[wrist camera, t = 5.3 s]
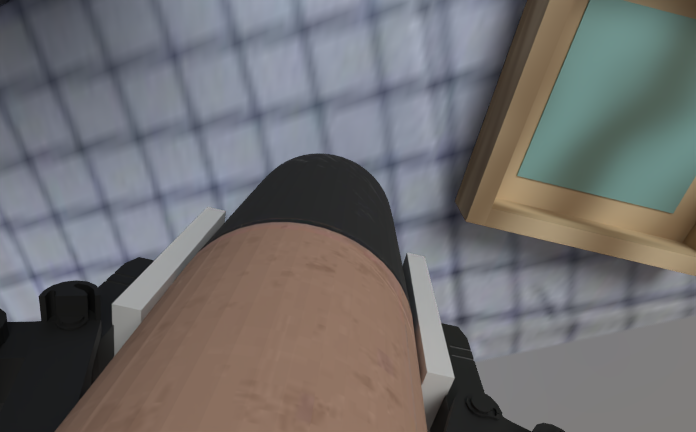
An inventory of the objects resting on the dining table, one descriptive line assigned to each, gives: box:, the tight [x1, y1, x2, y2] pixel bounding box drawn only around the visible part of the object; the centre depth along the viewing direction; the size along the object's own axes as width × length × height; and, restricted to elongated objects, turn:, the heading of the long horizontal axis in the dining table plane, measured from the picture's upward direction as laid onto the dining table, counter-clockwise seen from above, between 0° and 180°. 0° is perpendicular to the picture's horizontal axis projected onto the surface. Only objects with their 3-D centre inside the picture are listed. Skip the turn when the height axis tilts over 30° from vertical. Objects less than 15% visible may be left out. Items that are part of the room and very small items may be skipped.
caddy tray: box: [455, 0, 696, 276], centre depth 20 cm, size 14×14×3 cm
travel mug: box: [55, 154, 427, 432], centre depth 12 cm, size 8×8×20 cm
